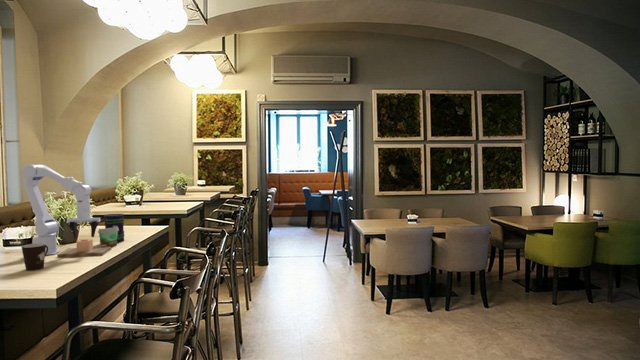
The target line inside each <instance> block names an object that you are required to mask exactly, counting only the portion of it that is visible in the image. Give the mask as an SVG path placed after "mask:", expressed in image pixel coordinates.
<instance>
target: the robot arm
mask: <svg viewBox="0 0 640 360" xmlns="http://www.w3.org/2000/svg"><path fill="white" fill-rule="evenodd" d="M21 175H22V185H23V189H24V191H25V193H26V196H27V198H28V201H29V203H30V205H31V206H30V207H31V208H32V210H33V213H34V215H35V218H36V219H35V221H34V223H33V224H34V231H35V233H36V236H34V237H33V240H32V244H38V243H43V244H46V246H48V252H47V254H46V255H45V256H49V255H57V254H59V253H61V250H59V249H58V246H57V245H58V243H57V234H58V231H60V230H59V229H60V225H59V223H58V222H57V221H56V219H55V218H54V216H52V215H50V213H49V210H48V208H47V206H46V204H45V200H44V198H43V196H42V193H41V191H40V188H39V186H38V184H39V183H40V182H41V180H43V178H45V177H47V178H49V179H51V180H53V181H55V182H57V183H59V184H61V188H64V189H65V190H67V191H69V192H71V193H73V195H74V196H75V200H76V218H75V217H74V218H67V219H66V224H68V226H69V228H70V229H71V232H72V233H73V236H74V239H76V238H78V225H79V224H78V223H90V234H91V235H90V236H91V238H94V237H95V236H96V235H95V234H96V230H97V227H98V226H99V224H100V223H101V217H91V198H90V197H91V196H90V195H91V194H92V192H93V191H92V190H93V189H92V187H91V186H90V185H89V184H87V183H84V184H83V182H82V181H78V180H76V179H75V178H74V177H73V176H67V177H66V176H63V175H62V174H60V173H58V172H57V171H55V170H53V169H52V168H50V167H49V166H48V165H47V166H46V165H45V164H44V163H43V164H42V163H41V164H40V163H39V164H26V165H25V166H23V168H22V169H21ZM46 250H47V248H45V253H46Z"/></svg>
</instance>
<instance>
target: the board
mask: <svg viewBox="0 0 640 360" xmlns="http://www.w3.org/2000/svg"><path fill="white" fill-rule="evenodd" d="M111 250H112V247H101V246H93V249H92V250H91V251H85V252H77V247H75V248H72V247H70V248H66V249H65V250H63V251H60V252H58V253H56V255H57V257H60V258H74V257H75V258H76V257H78V258H79V257H98V256H99V257H101V256H104V255H106V254H107V253H109V252H110V251H111ZM57 257H56V258H57Z"/></svg>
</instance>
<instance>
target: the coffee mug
mask: <svg viewBox="0 0 640 360" xmlns="http://www.w3.org/2000/svg"><path fill="white" fill-rule="evenodd" d="M45 248H47V250H46V253H45ZM21 250H22V256H23V262H24V267H25V271H27V272H28V271H29V272H31V271H40V270H43V269H44V268H45V259H46V257H45V256H47V255H46V254H47V252H48V246H46V244H43V243H38V244H33V243H29V244H24V245H22V246H21Z"/></svg>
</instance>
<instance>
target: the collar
mask: <svg viewBox="0 0 640 360" xmlns="http://www.w3.org/2000/svg"><path fill="white" fill-rule="evenodd" d="M75 242H76V248H77V252H85V251H91V250H92V249H93V247H94V245H93V244H94V243H93V242H94V241H93V238H91V239H90V238H86V239H82V238H81V239H79V240H77V241H75Z"/></svg>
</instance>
